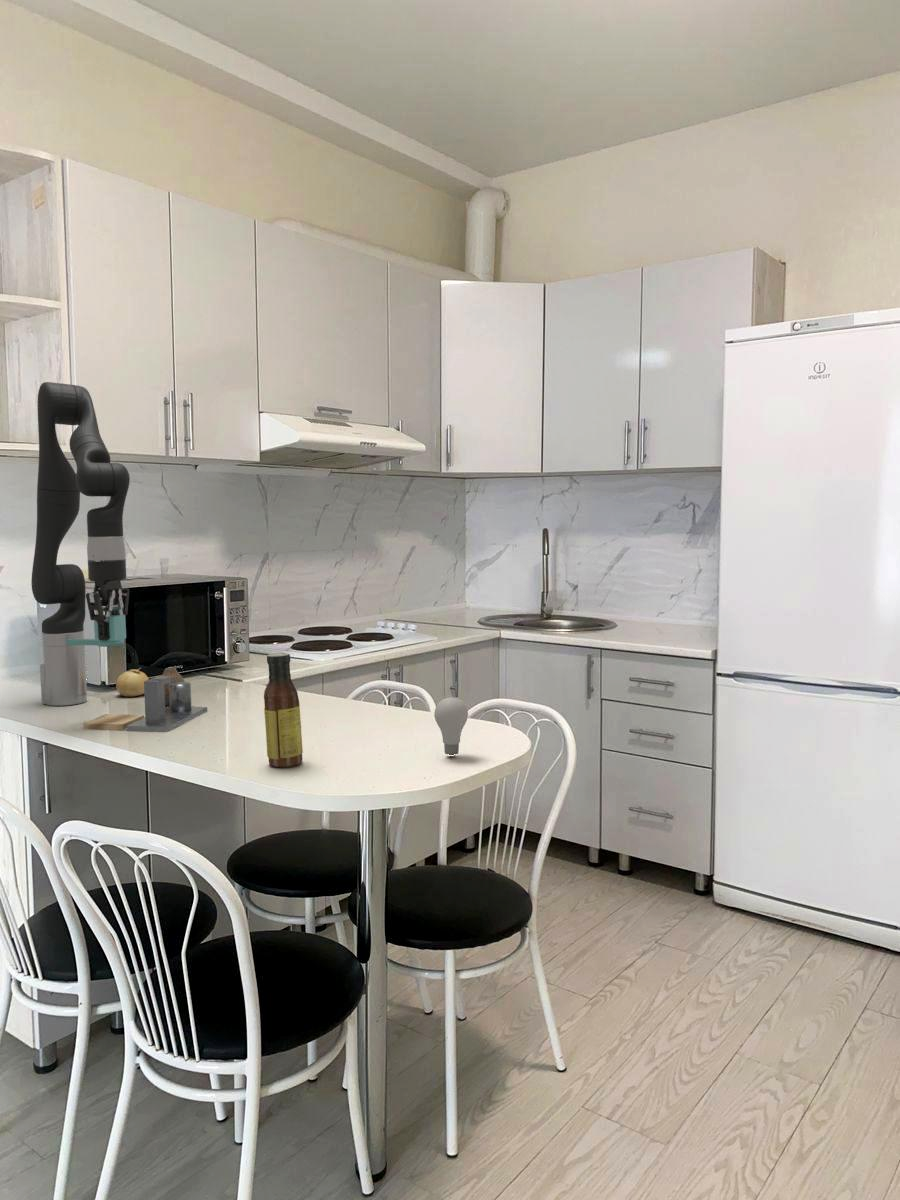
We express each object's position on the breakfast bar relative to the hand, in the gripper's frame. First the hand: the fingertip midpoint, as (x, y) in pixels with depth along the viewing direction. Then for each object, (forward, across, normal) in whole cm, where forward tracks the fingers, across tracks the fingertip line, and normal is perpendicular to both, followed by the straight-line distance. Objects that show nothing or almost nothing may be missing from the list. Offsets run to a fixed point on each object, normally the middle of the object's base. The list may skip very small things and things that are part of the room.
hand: (110, 637), depth 194 cm
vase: (+19, -21, +3) cm, 28 cm away
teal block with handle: (+2, 0, -4) cm, 4 cm away
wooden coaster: (+19, 0, 0) cm, 19 cm away
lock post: (+19, -5, +10) cm, 22 cm away
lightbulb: (+19, +18, +76) cm, 80 cm away
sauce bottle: (+19, +26, +47) cm, 57 cm away
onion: (+19, -31, -12) cm, 38 cm away
